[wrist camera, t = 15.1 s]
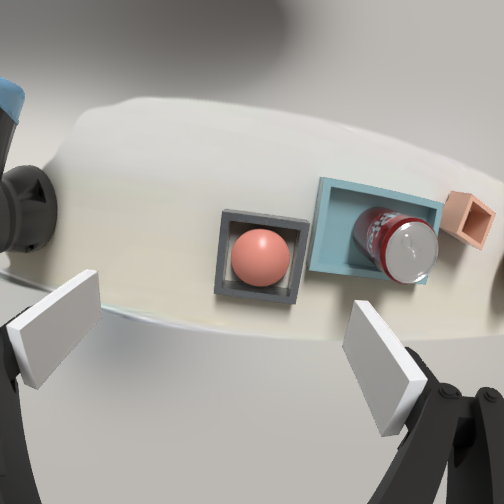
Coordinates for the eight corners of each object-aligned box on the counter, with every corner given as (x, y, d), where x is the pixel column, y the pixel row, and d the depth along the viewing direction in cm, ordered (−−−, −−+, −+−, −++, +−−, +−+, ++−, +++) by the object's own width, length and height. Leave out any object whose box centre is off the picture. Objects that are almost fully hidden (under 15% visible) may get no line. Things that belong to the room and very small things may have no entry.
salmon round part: (230, 276, 43) (228, 282, 40) (236, 223, 41) (234, 225, 38) (283, 283, 42) (284, 289, 40) (292, 230, 41) (294, 234, 38)
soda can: (405, 241, 40) (448, 264, 28) (364, 266, 41) (397, 299, 29) (385, 196, 38) (427, 205, 27) (342, 221, 39) (371, 240, 28)
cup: (435, 225, 39) (456, 233, 34) (449, 190, 38) (471, 193, 32) (460, 241, 40) (481, 250, 34) (473, 208, 38) (495, 213, 32)
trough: (306, 263, 42) (309, 270, 39) (320, 177, 39) (324, 177, 36) (417, 278, 42) (425, 284, 39) (433, 201, 39) (443, 203, 36)
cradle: (217, 285, 43) (213, 293, 40) (225, 208, 40) (222, 211, 37) (293, 295, 43) (295, 304, 40) (306, 219, 40) (309, 223, 37)
